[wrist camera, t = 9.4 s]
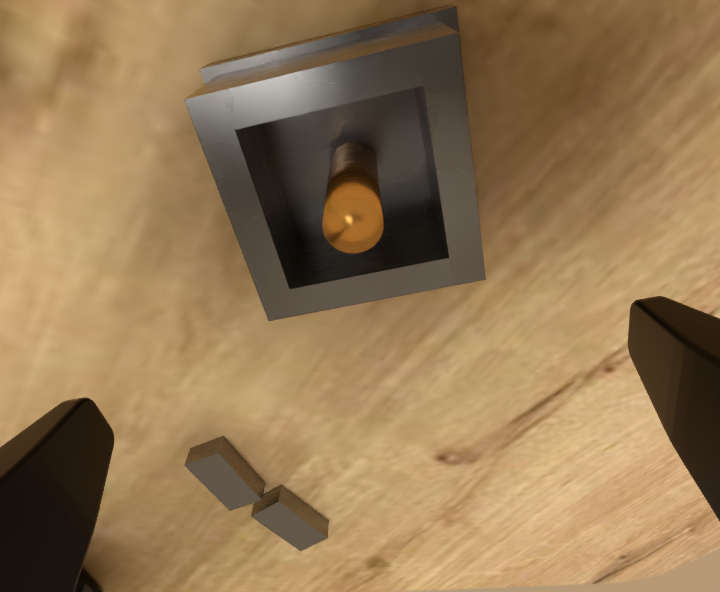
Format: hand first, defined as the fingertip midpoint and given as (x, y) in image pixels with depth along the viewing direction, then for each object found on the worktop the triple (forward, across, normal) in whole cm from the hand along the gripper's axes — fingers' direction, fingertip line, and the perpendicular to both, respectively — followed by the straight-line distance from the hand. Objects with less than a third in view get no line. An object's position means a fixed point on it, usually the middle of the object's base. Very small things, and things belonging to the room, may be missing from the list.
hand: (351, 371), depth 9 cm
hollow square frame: (+11, 0, 0) cm, 11 cm away
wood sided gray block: (+12, +8, +19) cm, 24 cm away
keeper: (+12, 0, 0) cm, 12 cm away
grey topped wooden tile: (+12, +10, +15) cm, 22 cm away
